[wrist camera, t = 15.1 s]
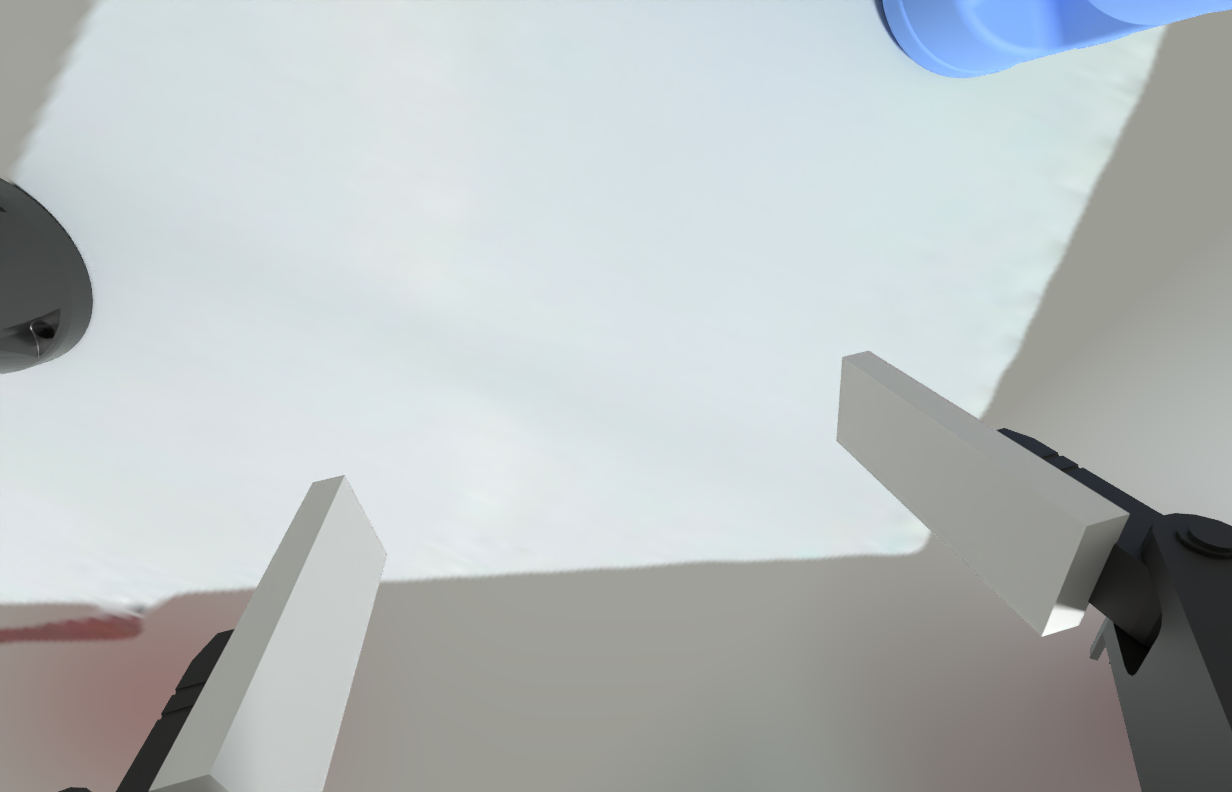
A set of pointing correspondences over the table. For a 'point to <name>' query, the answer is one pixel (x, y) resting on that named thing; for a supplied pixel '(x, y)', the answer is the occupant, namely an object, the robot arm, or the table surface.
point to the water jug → (1021, 28)
